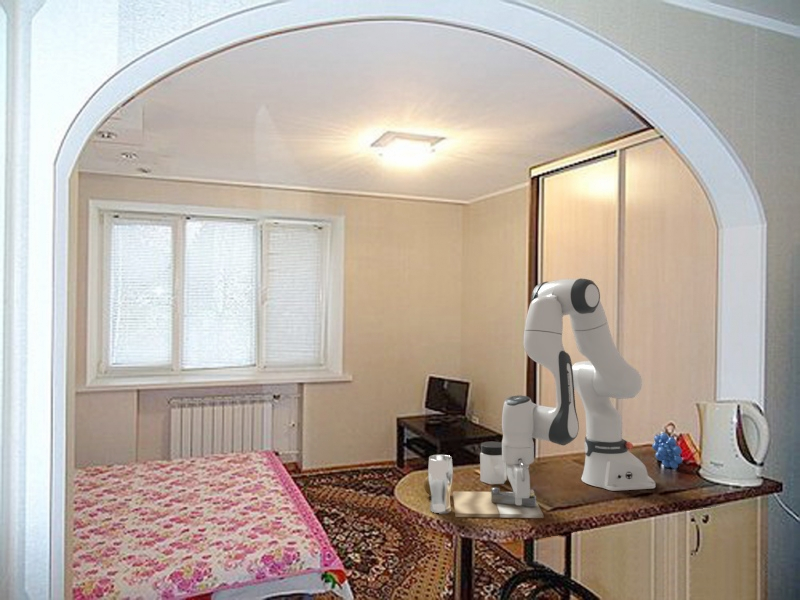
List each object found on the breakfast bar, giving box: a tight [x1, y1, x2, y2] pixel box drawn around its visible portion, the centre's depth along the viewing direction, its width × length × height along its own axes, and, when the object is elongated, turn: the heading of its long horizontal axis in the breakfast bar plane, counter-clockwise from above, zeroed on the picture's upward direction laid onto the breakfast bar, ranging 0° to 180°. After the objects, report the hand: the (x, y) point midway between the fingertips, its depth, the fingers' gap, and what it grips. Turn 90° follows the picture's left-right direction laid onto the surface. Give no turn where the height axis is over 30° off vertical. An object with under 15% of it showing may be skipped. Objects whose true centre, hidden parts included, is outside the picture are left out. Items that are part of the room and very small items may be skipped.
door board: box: [452, 489, 544, 519], centre depth 168 cm, size 24×18×4 cm
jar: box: [479, 441, 508, 486], centre depth 191 cm, size 9×8×12 cm
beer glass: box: [427, 454, 454, 515], centre depth 165 cm, size 7×7×15 cm
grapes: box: [651, 432, 683, 470], centre depth 204 cm, size 12×7×12 cm, turn 28°
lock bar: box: [490, 486, 537, 507], centre depth 167 cm, size 13×3×4 cm, turn 70°
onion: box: [423, 475, 431, 497], centre depth 177 cm, size 8×8×8 cm
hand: (517, 503), depth 163 cm, fingers closed
